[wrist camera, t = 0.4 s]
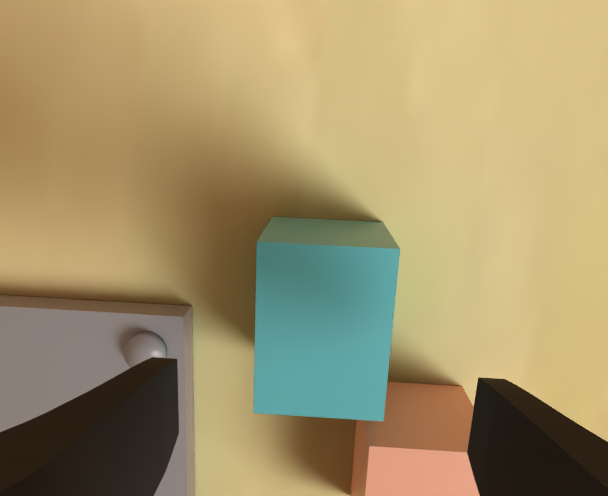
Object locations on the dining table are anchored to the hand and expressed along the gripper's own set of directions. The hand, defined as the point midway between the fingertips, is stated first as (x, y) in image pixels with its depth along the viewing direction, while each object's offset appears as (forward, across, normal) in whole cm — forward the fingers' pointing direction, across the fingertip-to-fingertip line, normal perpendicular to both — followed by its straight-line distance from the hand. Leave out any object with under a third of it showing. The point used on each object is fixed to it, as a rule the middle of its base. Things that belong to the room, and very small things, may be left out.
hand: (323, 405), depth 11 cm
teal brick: (+8, 0, 0) cm, 8 cm away
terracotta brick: (+8, -4, +7) cm, 12 cm away
